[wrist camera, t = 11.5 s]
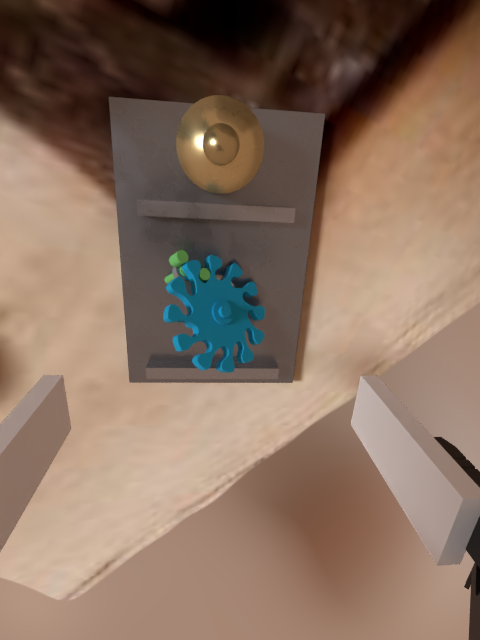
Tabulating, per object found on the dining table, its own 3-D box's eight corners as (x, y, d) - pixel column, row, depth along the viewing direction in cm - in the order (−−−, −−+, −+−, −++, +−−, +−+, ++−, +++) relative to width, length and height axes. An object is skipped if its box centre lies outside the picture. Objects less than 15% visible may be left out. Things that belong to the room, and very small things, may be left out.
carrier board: (112, 100, 26) (78, 67, 20) (320, 117, 28) (356, 91, 21) (132, 376, 35) (113, 420, 28) (290, 376, 37) (308, 418, 30)
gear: (286, 330, 31) (217, 399, 25) (246, 338, 36) (179, 398, 30) (228, 224, 29) (137, 271, 23) (192, 247, 34) (109, 292, 27)
